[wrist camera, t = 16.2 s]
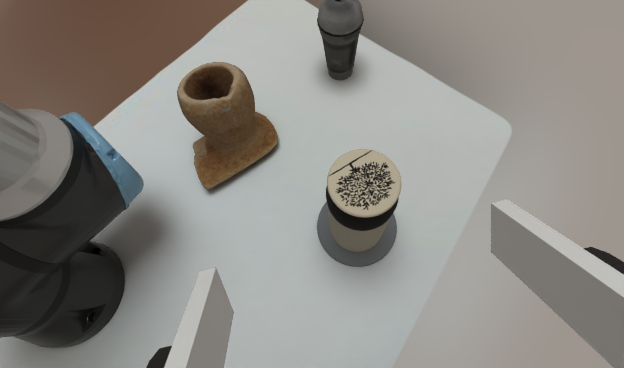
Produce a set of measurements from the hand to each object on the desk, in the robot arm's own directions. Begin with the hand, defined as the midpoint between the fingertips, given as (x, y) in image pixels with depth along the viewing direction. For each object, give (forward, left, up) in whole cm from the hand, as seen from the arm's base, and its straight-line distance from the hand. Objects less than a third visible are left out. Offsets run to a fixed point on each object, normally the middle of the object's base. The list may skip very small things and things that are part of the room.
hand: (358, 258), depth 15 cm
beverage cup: (+9, +40, -34) cm, 53 cm away
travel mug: (+4, +10, -33) cm, 35 cm away
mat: (+4, +10, -34) cm, 35 cm away
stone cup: (-13, +29, -34) cm, 46 cm away
